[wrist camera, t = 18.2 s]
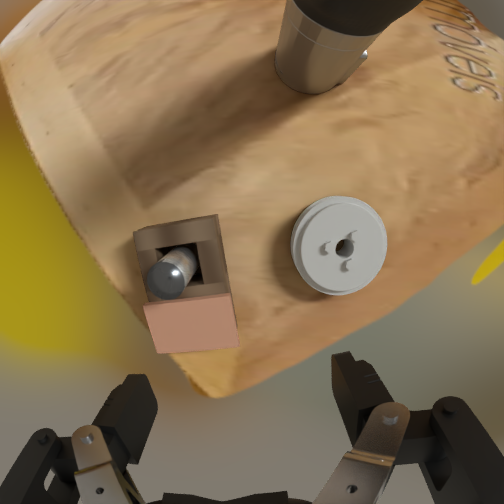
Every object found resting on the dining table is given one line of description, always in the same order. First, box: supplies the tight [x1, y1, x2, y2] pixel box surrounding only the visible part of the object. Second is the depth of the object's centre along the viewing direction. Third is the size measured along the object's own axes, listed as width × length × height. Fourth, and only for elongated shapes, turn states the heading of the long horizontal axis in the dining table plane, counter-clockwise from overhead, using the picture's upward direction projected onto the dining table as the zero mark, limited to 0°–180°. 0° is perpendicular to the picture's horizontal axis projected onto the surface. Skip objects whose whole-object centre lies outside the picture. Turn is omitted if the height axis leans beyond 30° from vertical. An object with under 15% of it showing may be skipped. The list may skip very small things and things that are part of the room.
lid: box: [291, 196, 387, 295], centre depth 36 cm, size 13×13×5 cm
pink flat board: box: [143, 293, 240, 354], centre depth 35 cm, size 11×7×1 cm, turn 98°
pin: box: [147, 242, 200, 300], centre depth 34 cm, size 4×4×11 cm
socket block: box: [133, 214, 237, 326], centre depth 37 cm, size 10×16×5 cm, turn 8°
